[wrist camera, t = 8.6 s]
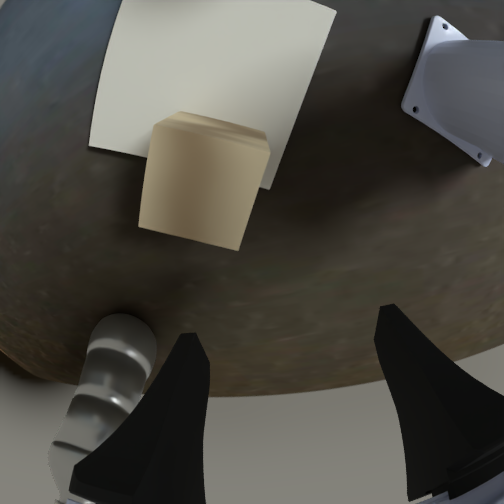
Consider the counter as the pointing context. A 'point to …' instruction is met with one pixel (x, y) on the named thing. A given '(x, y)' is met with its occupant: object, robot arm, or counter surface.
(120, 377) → the plastic bottle
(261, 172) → the cube
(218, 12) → the plate
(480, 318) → the counter surface
